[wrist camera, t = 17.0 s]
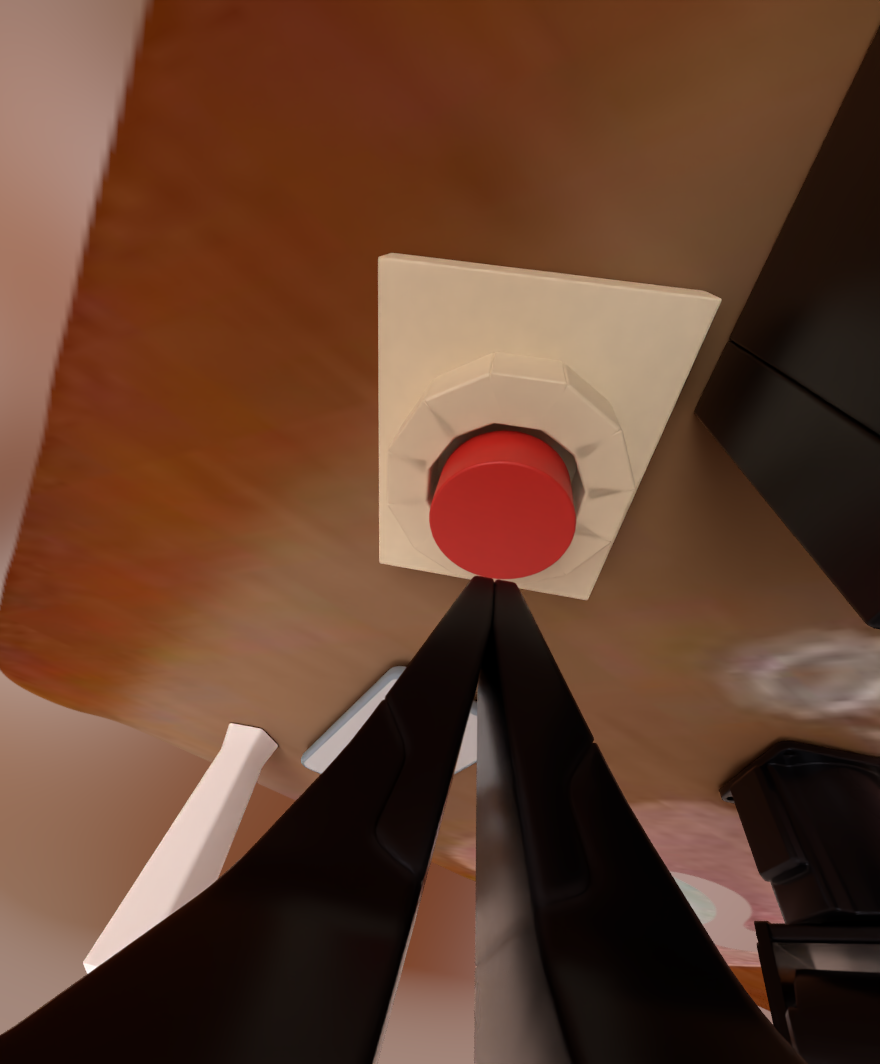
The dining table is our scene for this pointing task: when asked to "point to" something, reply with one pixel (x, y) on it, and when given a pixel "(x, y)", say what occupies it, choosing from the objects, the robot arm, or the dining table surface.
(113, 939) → the perfume bottle
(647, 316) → the control block
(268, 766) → the dining table surface
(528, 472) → the button
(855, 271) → the toaster
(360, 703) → the smartphone
